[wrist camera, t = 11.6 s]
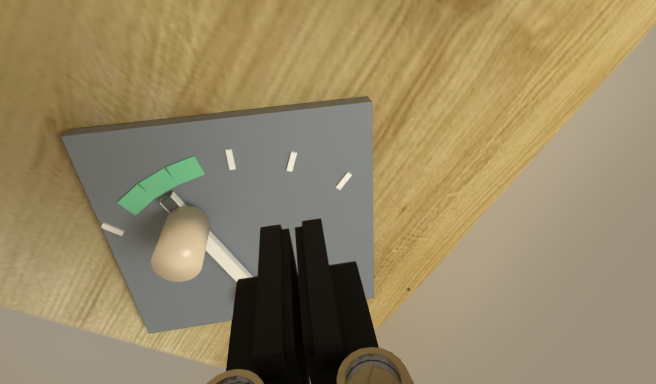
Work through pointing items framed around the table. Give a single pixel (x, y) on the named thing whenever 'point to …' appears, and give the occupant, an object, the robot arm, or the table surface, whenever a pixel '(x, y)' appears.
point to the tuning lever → (189, 244)
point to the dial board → (229, 193)
